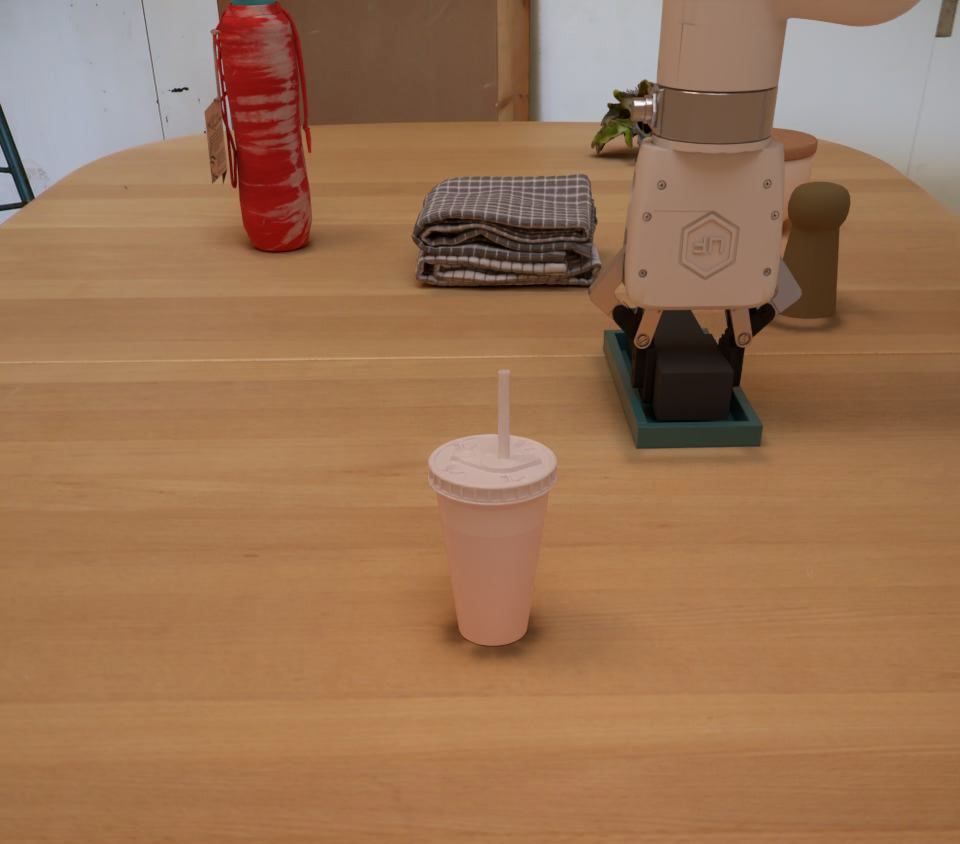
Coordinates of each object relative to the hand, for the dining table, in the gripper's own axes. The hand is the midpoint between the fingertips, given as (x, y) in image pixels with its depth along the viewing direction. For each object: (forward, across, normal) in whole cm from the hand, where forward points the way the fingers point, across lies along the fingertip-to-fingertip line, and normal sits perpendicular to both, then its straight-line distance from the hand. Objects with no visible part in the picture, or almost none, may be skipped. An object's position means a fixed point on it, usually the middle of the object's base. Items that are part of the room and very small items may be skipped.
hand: (683, 394), depth 82 cm
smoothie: (+2, -15, -28) cm, 32 cm away
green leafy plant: (+2, +10, +96) cm, 97 cm away
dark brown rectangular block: (+1, 0, +10) cm, 10 cm away
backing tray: (+2, 0, +4) cm, 4 cm away
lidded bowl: (+2, +17, +56) cm, 59 cm away
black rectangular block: (0, 0, 0) cm, 0 cm away
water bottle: (+2, -37, +51) cm, 63 cm away
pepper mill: (+2, +15, +24) cm, 28 cm away
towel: (+2, -11, +40) cm, 42 cm away
